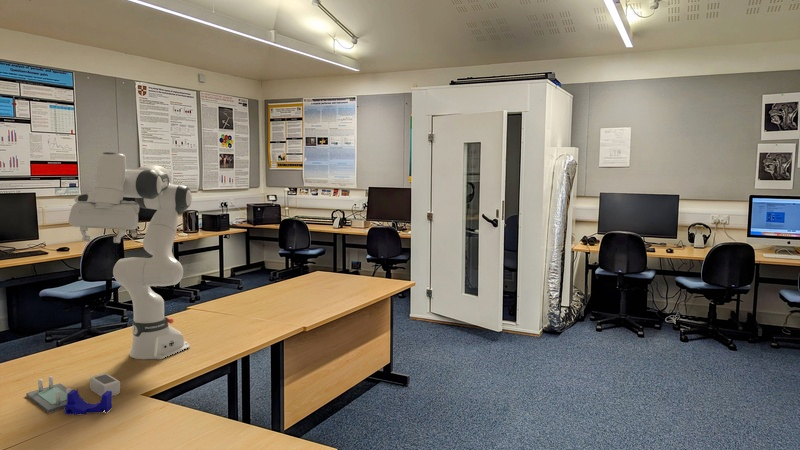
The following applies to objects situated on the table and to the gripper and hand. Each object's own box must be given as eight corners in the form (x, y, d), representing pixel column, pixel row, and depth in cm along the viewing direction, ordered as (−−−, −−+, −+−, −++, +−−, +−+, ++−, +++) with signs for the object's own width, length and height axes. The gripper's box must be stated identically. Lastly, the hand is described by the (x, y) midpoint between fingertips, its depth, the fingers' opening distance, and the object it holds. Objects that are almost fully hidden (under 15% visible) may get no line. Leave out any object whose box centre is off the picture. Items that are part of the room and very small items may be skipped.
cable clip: (64, 414, 162) (64, 396, 161) (73, 407, 166) (72, 389, 166) (104, 415, 162) (104, 397, 162) (112, 408, 167) (111, 391, 166)
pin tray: (60, 386, 180) (59, 372, 179) (83, 401, 170) (82, 387, 169) (26, 396, 172) (25, 381, 171) (48, 413, 162) (47, 397, 161)
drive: (105, 385, 183) (105, 372, 182) (120, 394, 177) (119, 381, 176) (90, 389, 179) (90, 377, 178) (104, 399, 173) (104, 385, 172)
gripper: (144, 203, 174) (138, 244, 172) (79, 200, 173) (73, 242, 170) (136, 199, 168) (130, 241, 166) (69, 196, 166) (62, 239, 164)
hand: (101, 242), depth 168 cm, fingers open, 8 cm apart
